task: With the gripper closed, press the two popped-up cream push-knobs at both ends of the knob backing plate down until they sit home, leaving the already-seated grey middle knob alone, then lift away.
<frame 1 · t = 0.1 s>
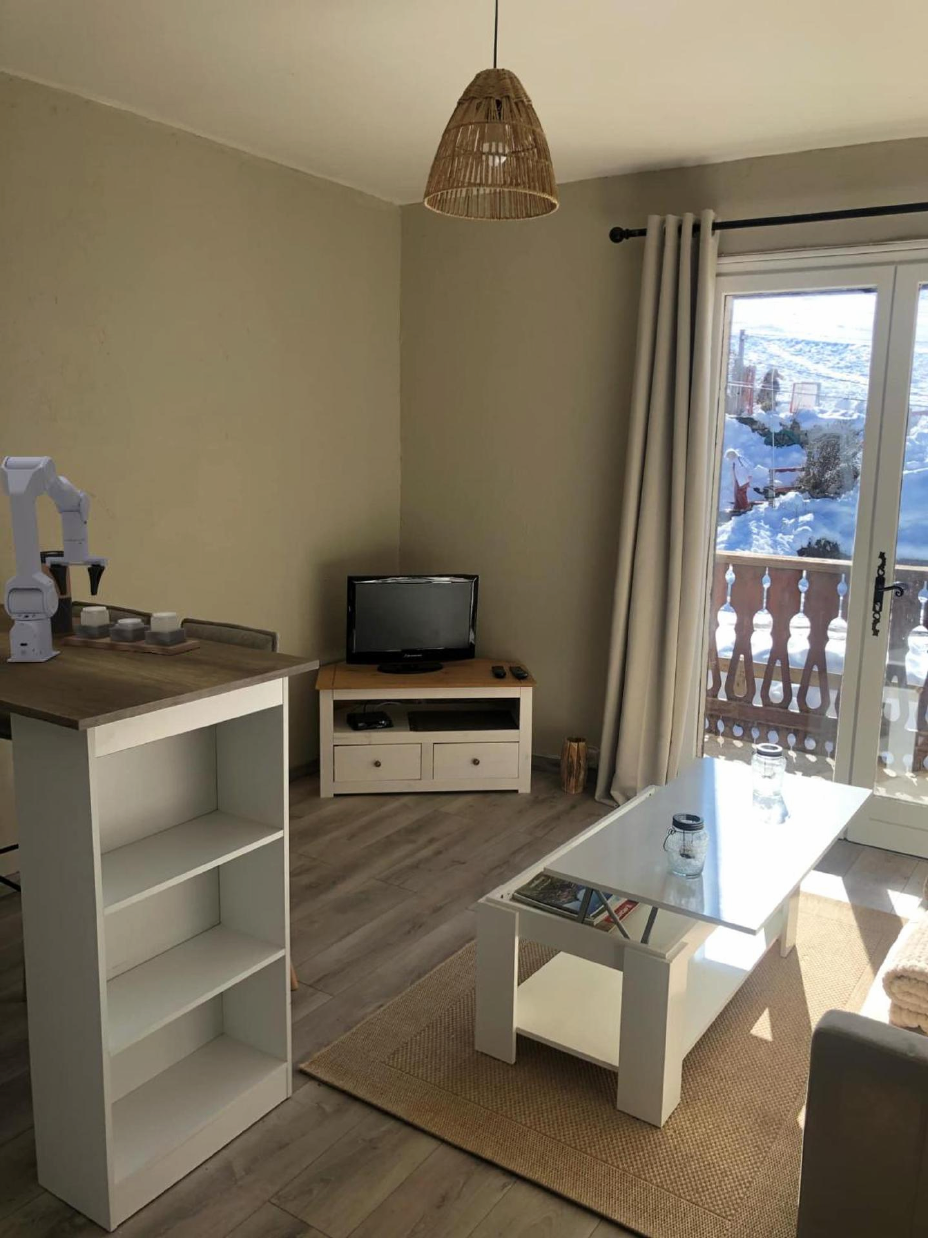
hand: (78, 595, 249), 10 cm above the worktop, tool pointing down, fingers open, 7 cm apart
travel mug: (57, 631, 257), on the worktop
knob 3: (165, 623, 232), point 6 cm above the worktop, slide at 2.2 cm
knob backing plate: (130, 645, 237), on the worktop
knob 1: (94, 617, 240), point 6 cm above the worktop, slide at 2.2 cm
knob 2: (130, 629, 236), point 4 cm above the worktop, slide at 0.0 cm
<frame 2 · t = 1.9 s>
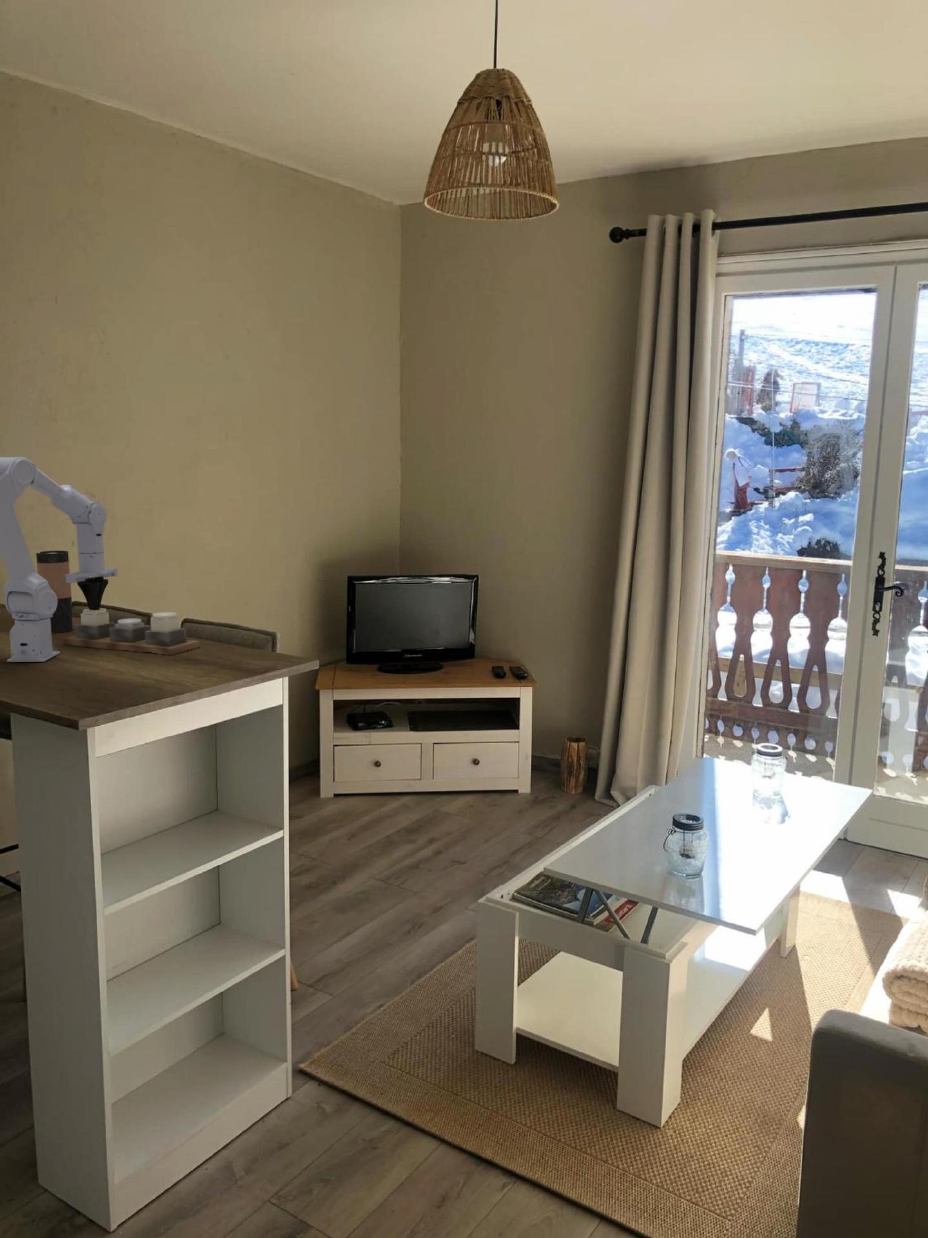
hand: (94, 609, 240), 8 cm above the worktop, tool pointing down, fingers closed, pressing on knob 1
knob 1: (95, 618, 240), point 6 cm above the worktop, slide at 1.8 cm, touching gripper
everything else where it was.
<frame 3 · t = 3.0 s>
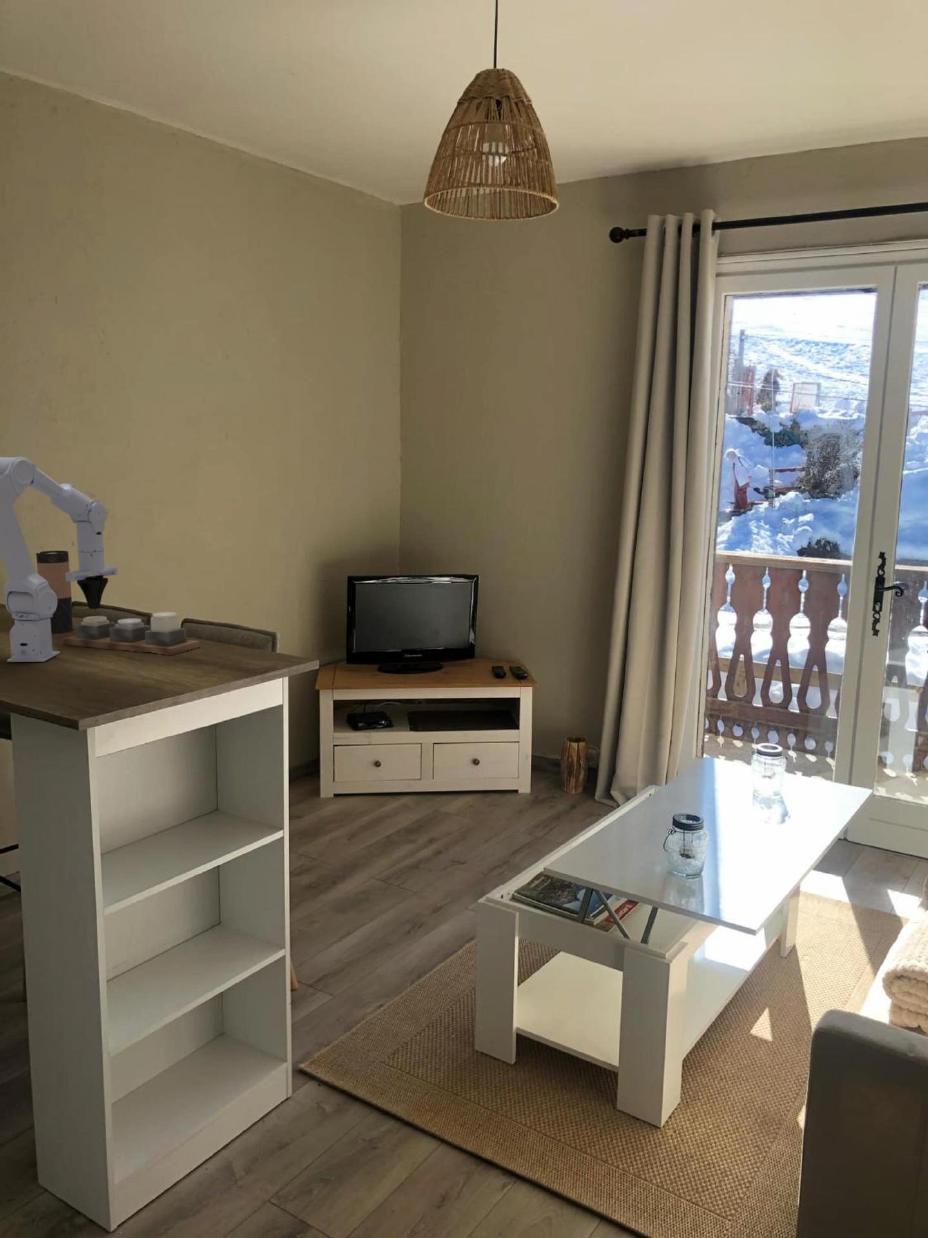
hand: (94, 608, 240), 8 cm above the worktop, tool pointing down, fingers closed
knob 1: (95, 626, 240), point 4 cm above the worktop, slide at -0.2 cm
everything else where it was.
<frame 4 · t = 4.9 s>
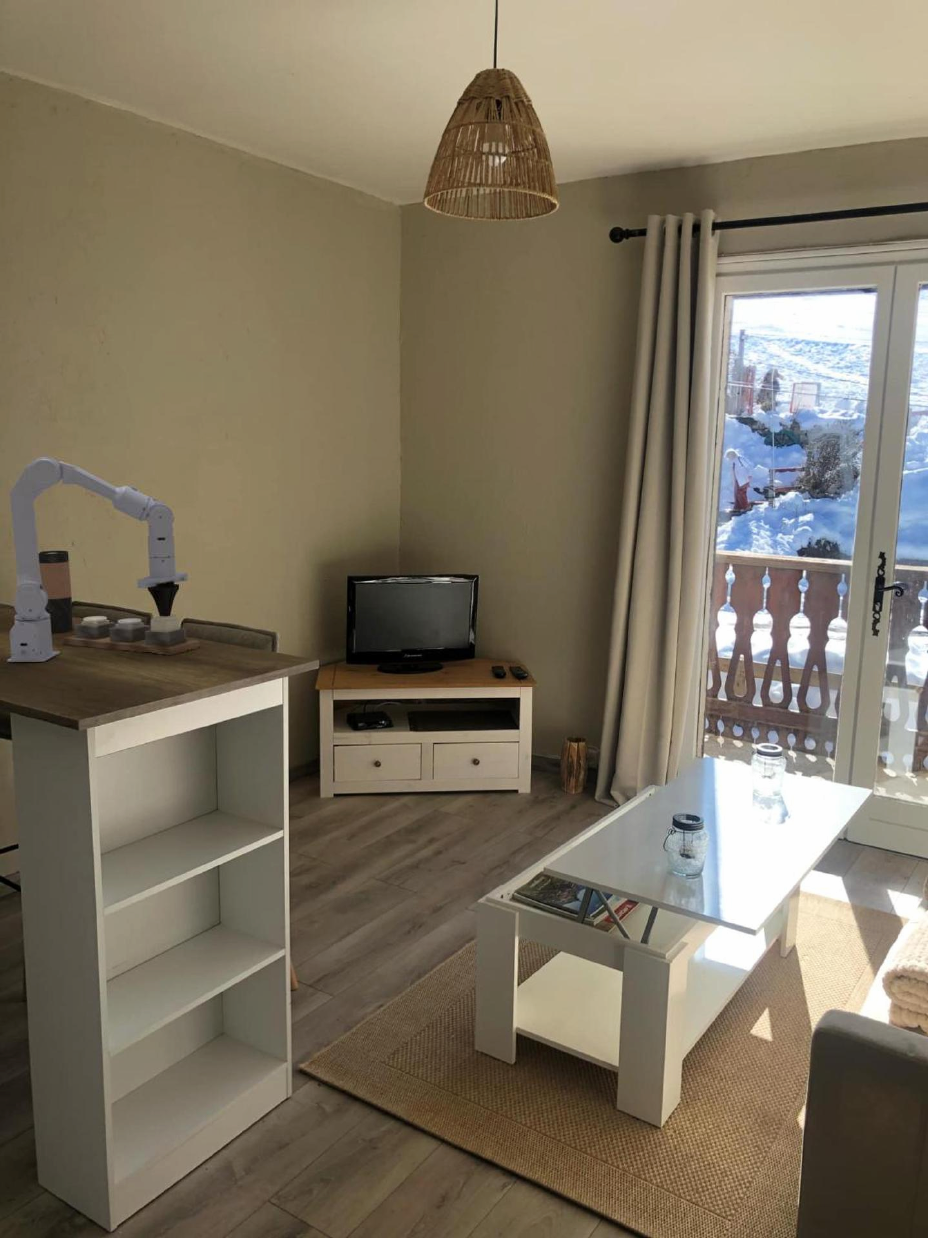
hand: (164, 616, 231), 8 cm above the worktop, tool pointing down, fingers closed, pressing on knob 3
knob 3: (165, 625, 232), point 6 cm above the worktop, slide at 1.7 cm, touching gripper
everything else where it was.
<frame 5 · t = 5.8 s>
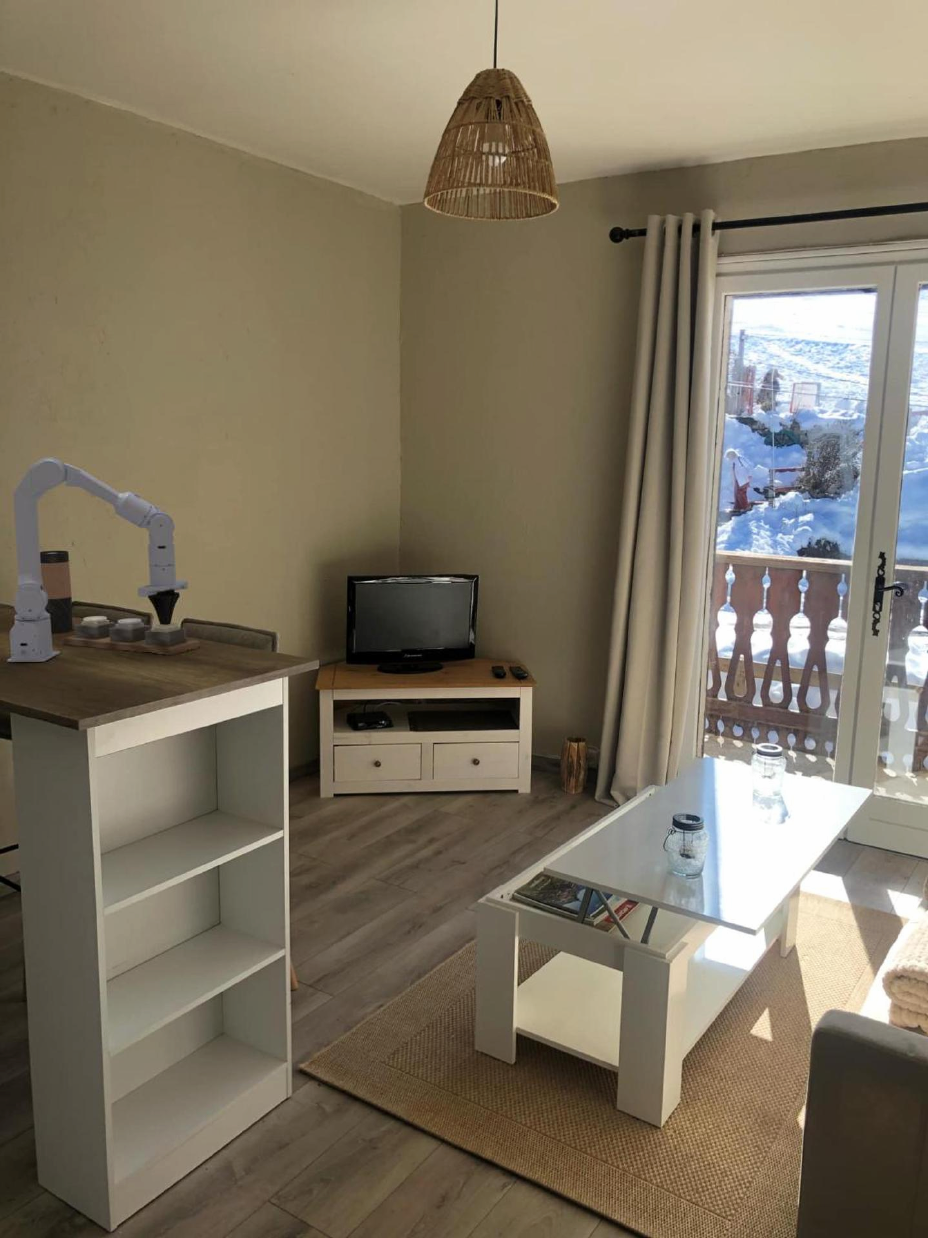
hand: (165, 624, 232), 6 cm above the worktop, tool pointing down, fingers closed
knob 3: (165, 633, 232), point 4 cm above the worktop, slide at -0.2 cm
everything else where it was.
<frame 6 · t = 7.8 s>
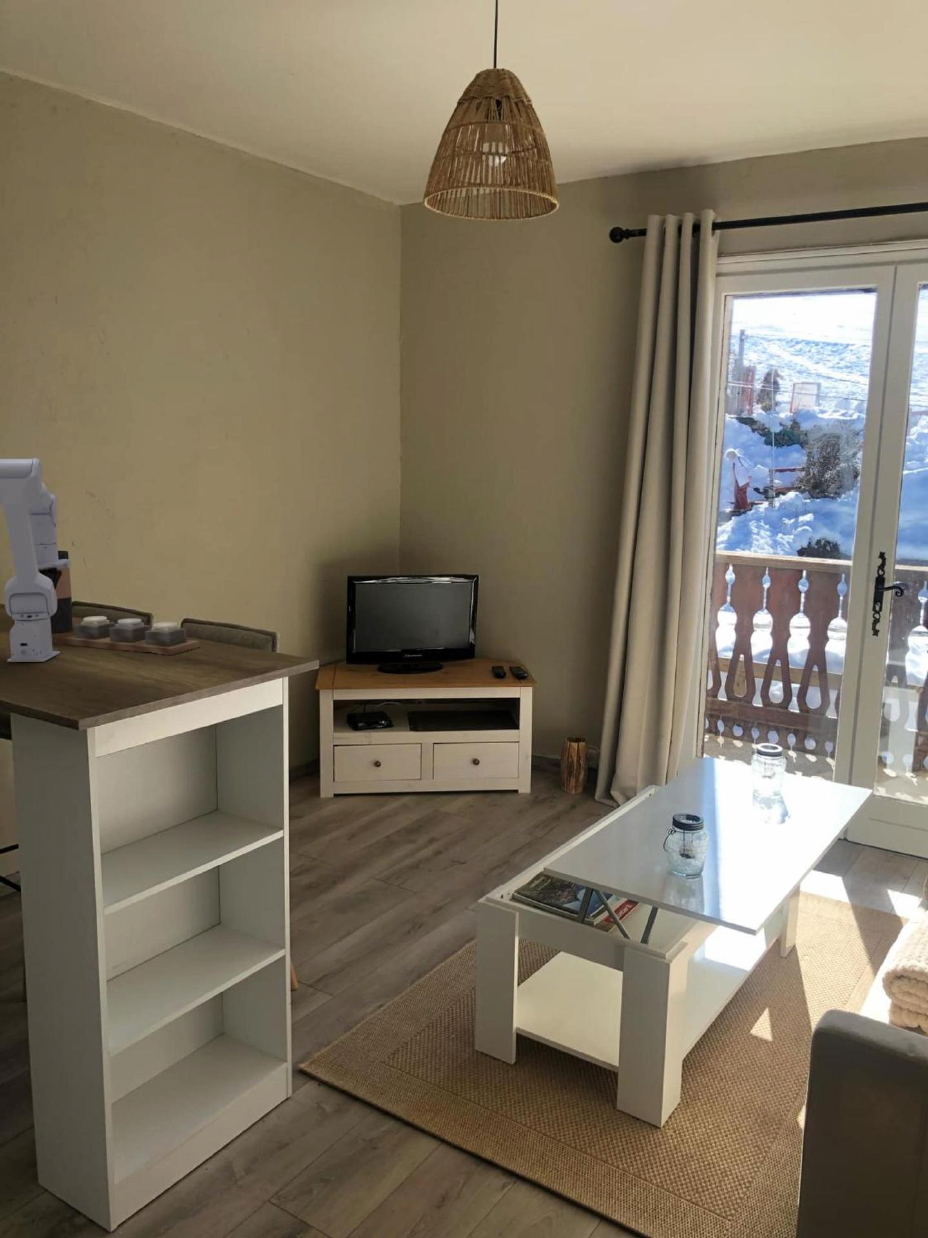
hand: (48, 601, 240), 10 cm above the worktop, tool pointing down, fingers closed
nothing on the worktop moved.
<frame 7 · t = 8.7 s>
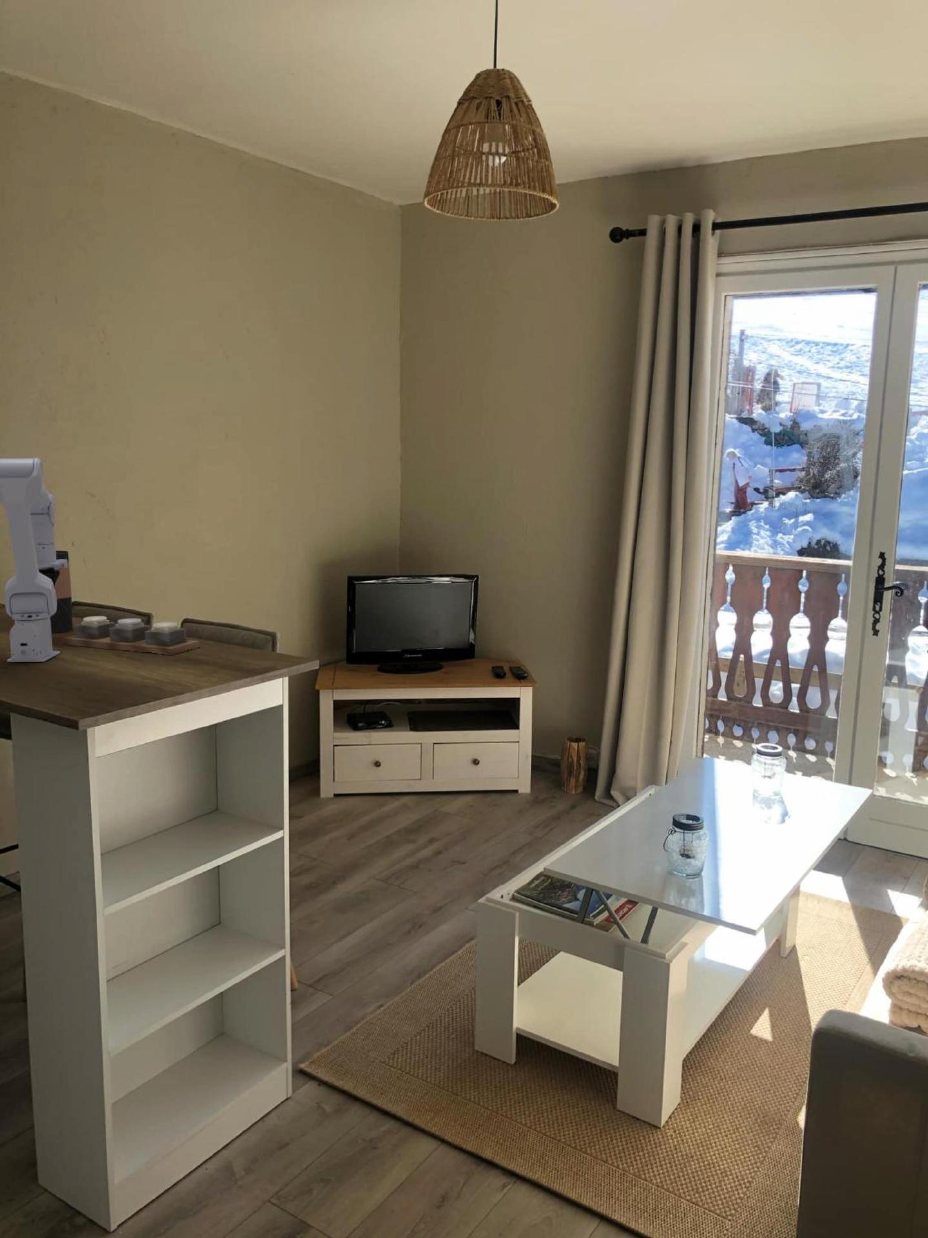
hand: (46, 601, 240), 10 cm above the worktop, tool pointing down, fingers closed
nothing on the worktop moved.
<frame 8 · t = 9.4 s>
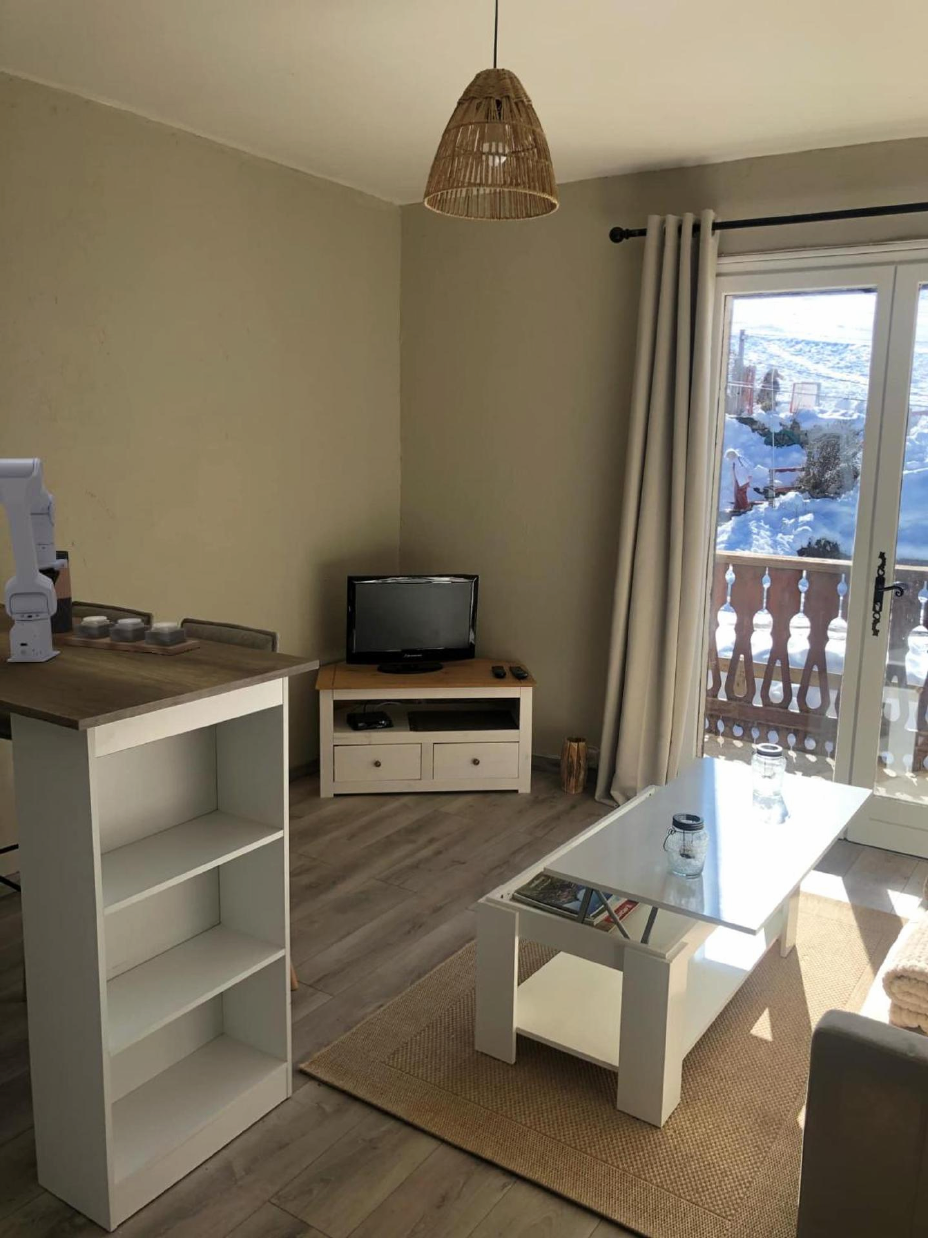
hand: (46, 601, 240), 10 cm above the worktop, tool pointing down, fingers closed
nothing on the worktop moved.
at the end: knob 1 slide at -0.2 cm; knob 3 slide at -0.2 cm; knob 2 slide at 0.0 cm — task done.
